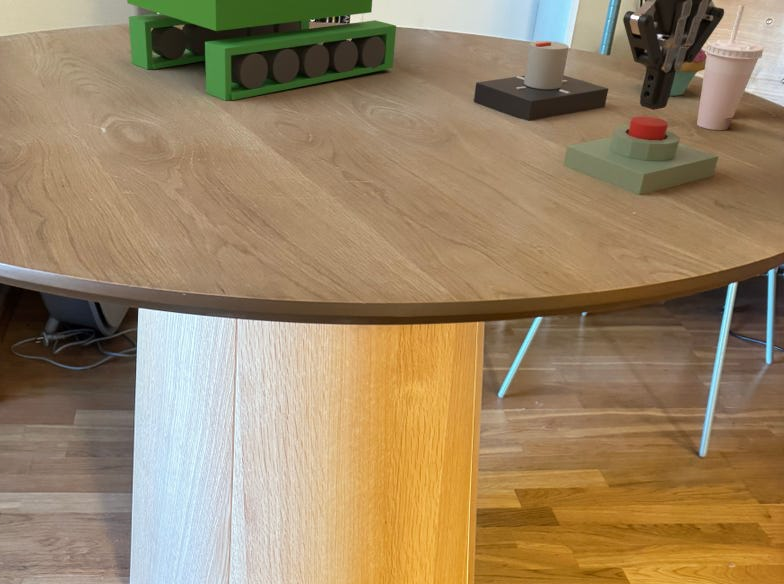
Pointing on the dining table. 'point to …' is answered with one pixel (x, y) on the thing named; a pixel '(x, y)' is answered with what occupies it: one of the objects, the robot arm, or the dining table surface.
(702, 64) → the cupcake
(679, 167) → the switch block
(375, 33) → the tank
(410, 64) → the dining table surface
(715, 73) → the smoothie
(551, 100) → the timer panel
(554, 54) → the timer dial
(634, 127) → the power button
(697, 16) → the robot arm
